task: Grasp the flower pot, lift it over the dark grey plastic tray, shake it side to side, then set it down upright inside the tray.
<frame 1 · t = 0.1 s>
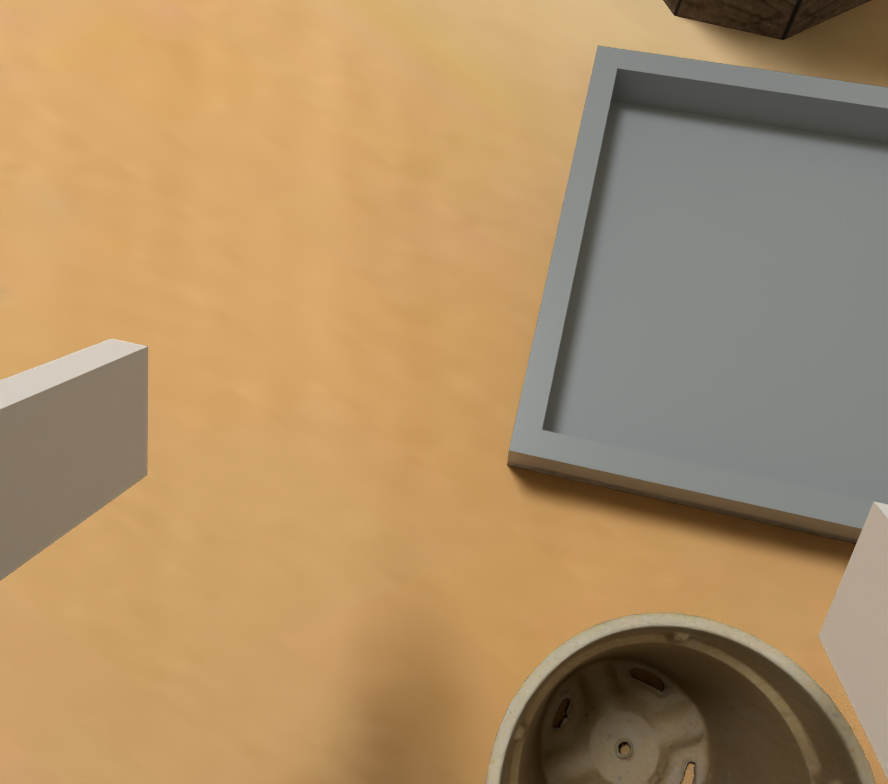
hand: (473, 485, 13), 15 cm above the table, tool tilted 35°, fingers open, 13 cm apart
tray: (764, 305, 29), on the table
flower pot: (617, 744, 25), on the table
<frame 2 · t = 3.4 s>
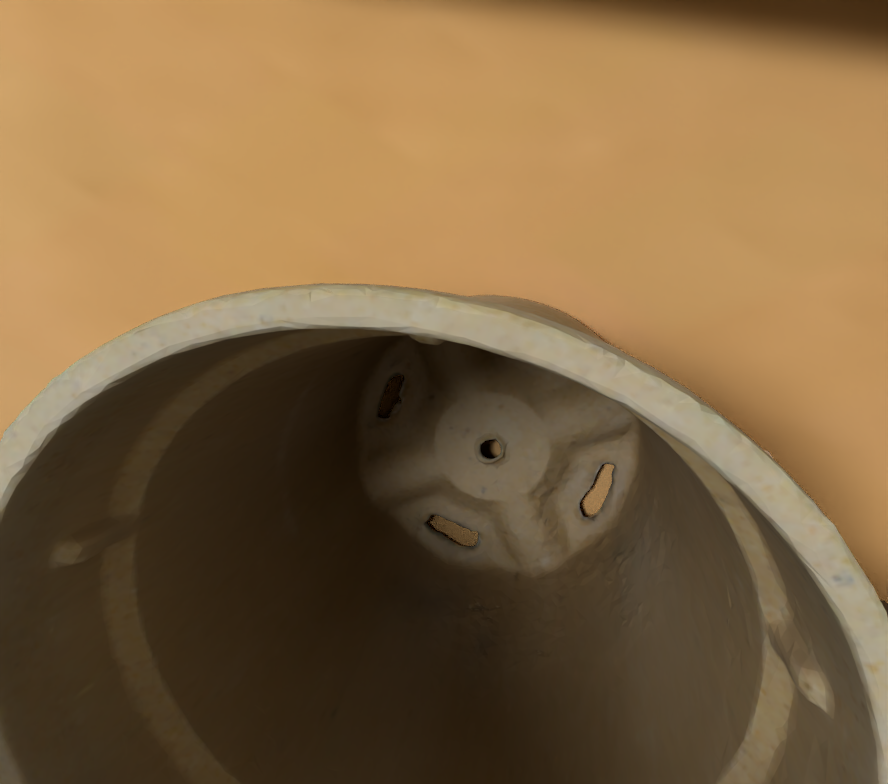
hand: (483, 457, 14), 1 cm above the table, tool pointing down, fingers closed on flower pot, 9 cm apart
flower pot: (490, 435, 15), on the table, touching gripper
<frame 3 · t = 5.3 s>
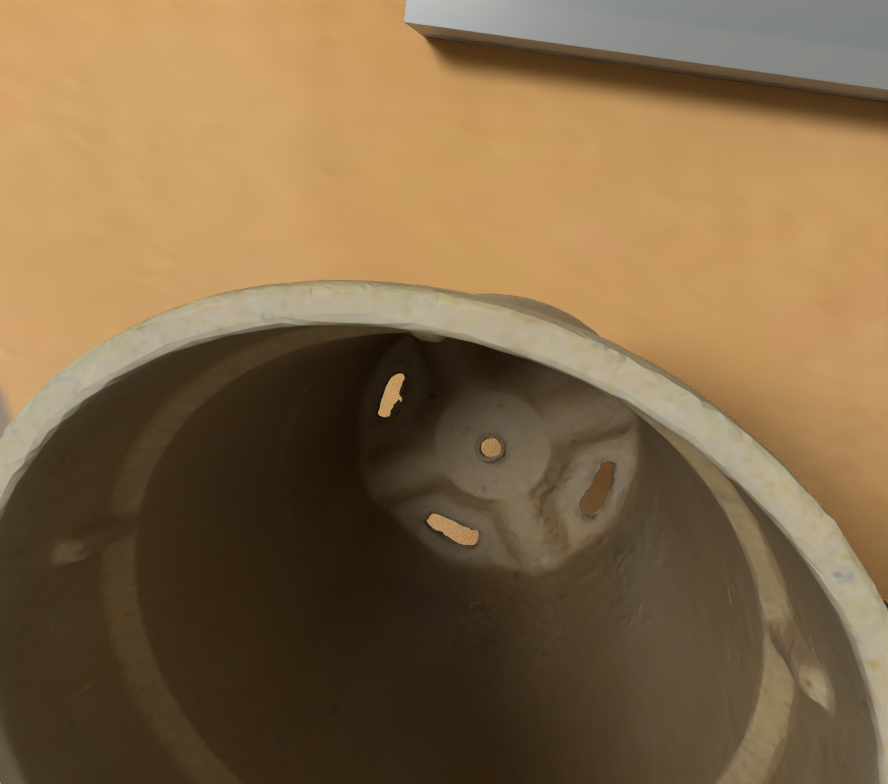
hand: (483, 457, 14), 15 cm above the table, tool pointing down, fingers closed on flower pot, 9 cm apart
flower pot: (490, 434, 15), point 14 cm above the table, touching gripper
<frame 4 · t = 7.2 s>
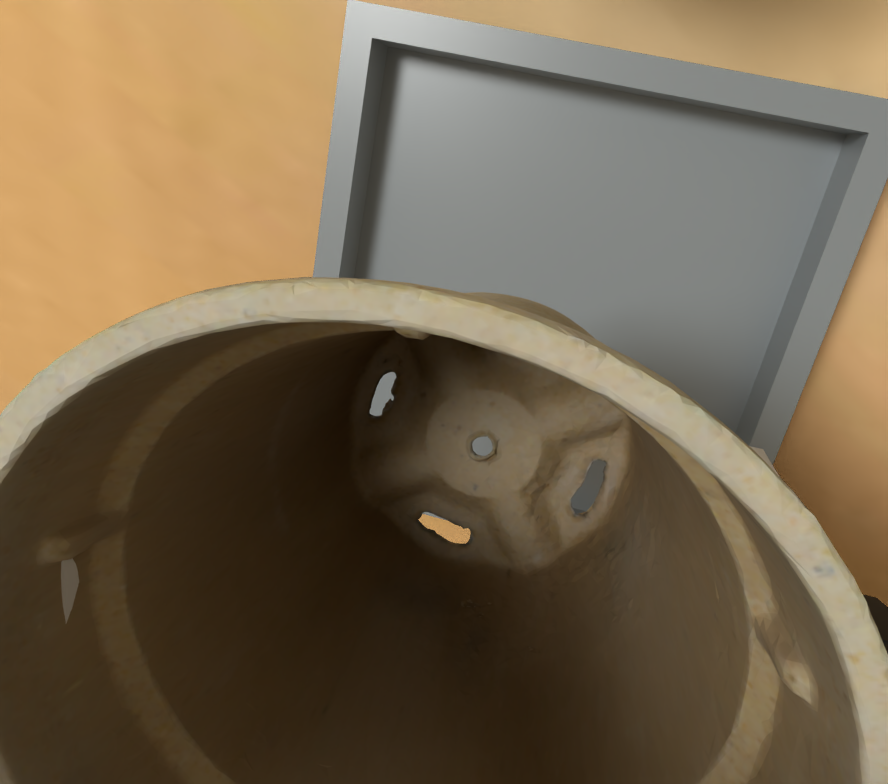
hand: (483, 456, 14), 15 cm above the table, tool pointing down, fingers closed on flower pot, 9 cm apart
tray: (553, 305, 28), on the table
flower pot: (482, 433, 15), point 14 cm above the table, touching gripper
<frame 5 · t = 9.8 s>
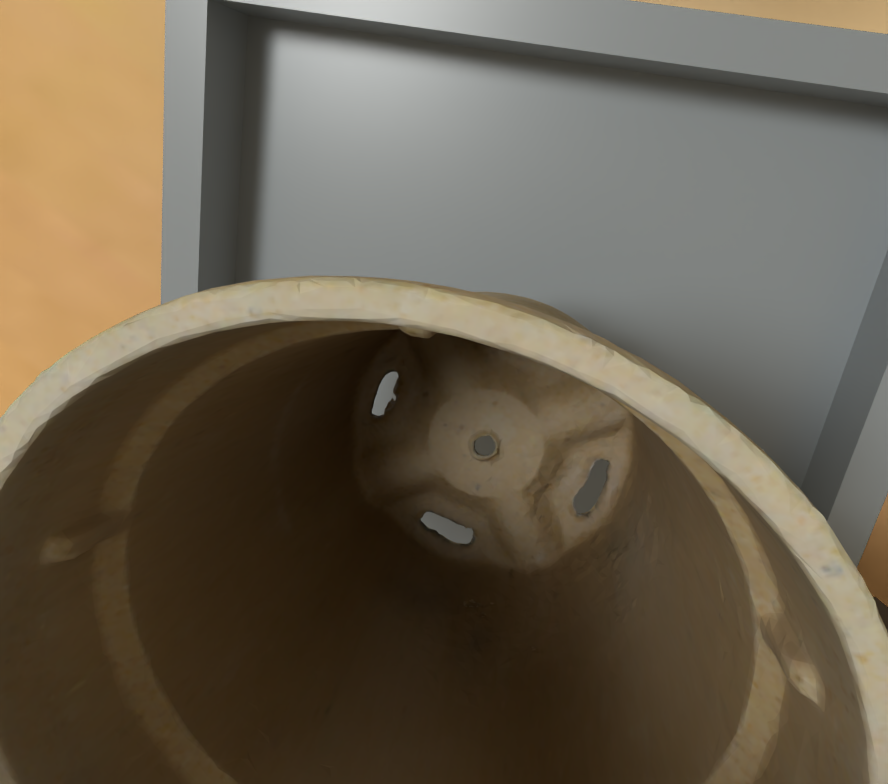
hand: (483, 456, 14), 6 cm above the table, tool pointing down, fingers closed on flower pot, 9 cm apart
tray: (511, 373, 20), on the table
flower pot: (484, 432, 15), point 5 cm above the table, touching gripper
when the fingers open (3 cm above the table, at t = 11.3 s): flower pot drops 1 cm, resting on tray.
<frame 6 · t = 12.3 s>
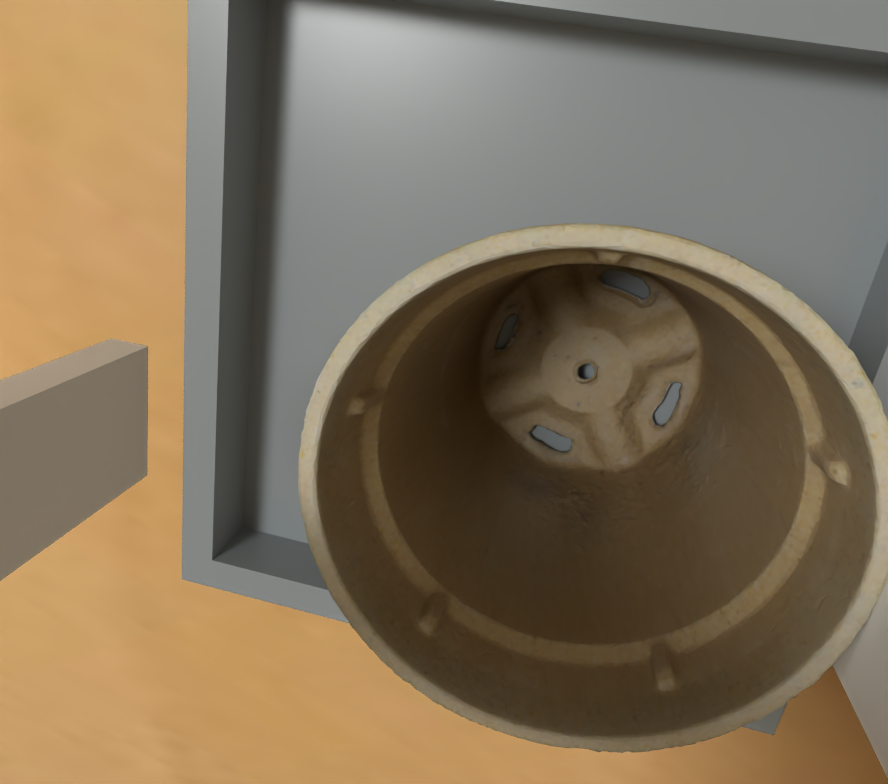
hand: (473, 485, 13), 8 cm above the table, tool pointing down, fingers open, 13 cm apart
tray: (526, 338, 20), on the table
flower pot: (582, 363, 19), point 1 cm above the table, touching gripper, tray
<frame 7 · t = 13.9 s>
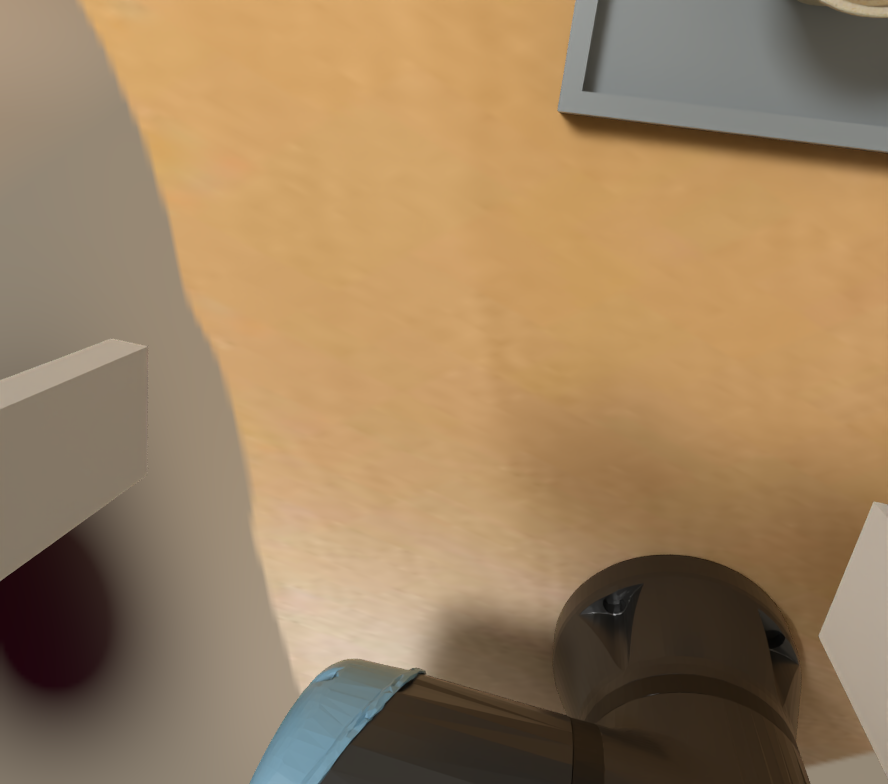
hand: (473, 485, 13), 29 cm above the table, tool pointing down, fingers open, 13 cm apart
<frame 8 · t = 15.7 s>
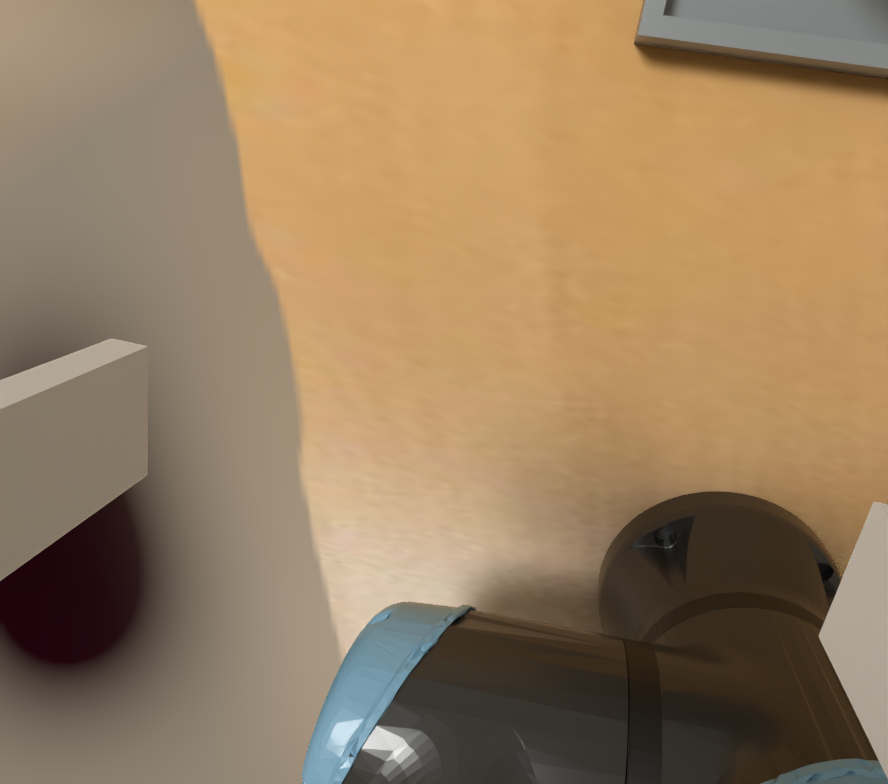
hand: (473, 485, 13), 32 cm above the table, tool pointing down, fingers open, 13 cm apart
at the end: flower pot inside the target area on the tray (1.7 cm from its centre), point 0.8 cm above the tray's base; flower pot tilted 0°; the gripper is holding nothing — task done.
